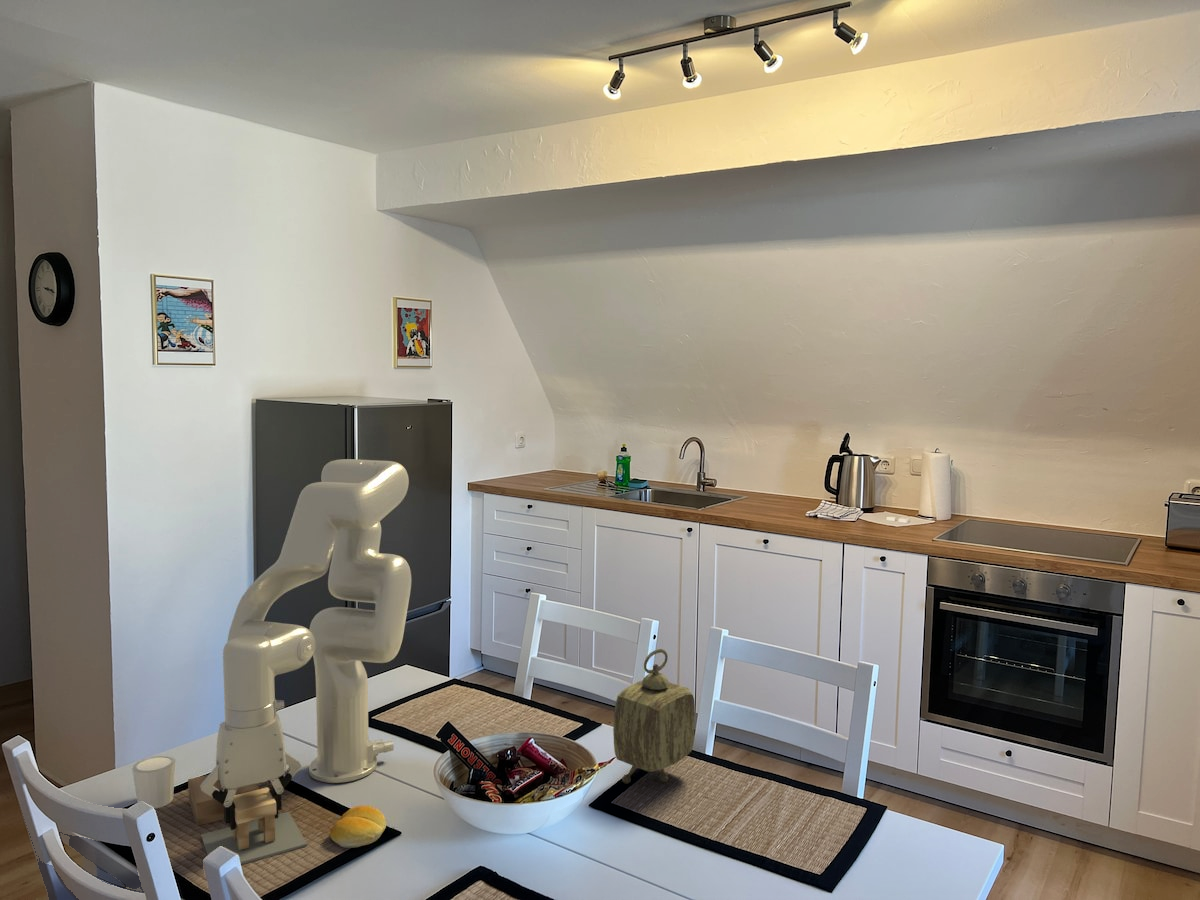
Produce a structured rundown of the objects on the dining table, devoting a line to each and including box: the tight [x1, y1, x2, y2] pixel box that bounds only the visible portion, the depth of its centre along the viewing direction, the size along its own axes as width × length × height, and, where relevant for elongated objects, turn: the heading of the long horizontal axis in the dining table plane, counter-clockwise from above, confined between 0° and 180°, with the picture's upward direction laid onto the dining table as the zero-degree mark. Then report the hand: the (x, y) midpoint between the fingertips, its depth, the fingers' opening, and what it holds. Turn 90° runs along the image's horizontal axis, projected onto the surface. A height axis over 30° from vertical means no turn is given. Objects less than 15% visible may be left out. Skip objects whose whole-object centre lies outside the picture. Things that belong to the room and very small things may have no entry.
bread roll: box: [329, 805, 387, 849], centre depth 143 cm, size 8×9×4 cm
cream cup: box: [131, 755, 176, 809], centre depth 154 cm, size 7×7×7 cm
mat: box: [200, 811, 308, 865], centre depth 141 cm, size 14×12×1 cm
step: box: [187, 774, 260, 826], centre depth 152 cm, size 10×10×4 cm
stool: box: [233, 787, 277, 850], centre depth 141 cm, size 6×6×6 cm
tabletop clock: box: [612, 648, 696, 784], centre depth 163 cm, size 14×9×25 cm, turn 139°
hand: (253, 819), depth 141 cm, fingers closed on stool, 5 cm apart
